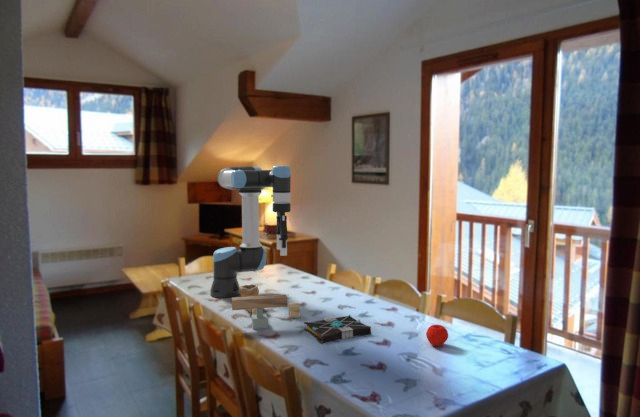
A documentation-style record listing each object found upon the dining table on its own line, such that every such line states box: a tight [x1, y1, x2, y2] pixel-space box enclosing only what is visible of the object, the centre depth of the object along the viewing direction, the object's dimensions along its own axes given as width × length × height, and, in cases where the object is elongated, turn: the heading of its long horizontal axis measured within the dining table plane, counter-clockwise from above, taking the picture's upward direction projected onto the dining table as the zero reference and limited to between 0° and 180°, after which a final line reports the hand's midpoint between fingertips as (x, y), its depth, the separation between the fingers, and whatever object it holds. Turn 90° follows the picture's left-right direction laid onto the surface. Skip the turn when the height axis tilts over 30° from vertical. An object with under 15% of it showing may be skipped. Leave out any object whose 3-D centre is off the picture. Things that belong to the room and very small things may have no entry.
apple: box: [425, 324, 449, 347], centre depth 174 cm, size 8×8×7 cm
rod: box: [231, 294, 288, 311], centre depth 194 cm, size 4×22×4 cm, turn 103°
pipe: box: [239, 284, 265, 314], centre depth 217 cm, size 9×16×10 cm, turn 24°
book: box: [303, 314, 372, 344], centre depth 188 cm, size 22×17×5 cm
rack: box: [251, 302, 301, 319], centre depth 206 cm, size 5×20×5 cm, turn 103°
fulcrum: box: [251, 308, 269, 330], centre depth 194 cm, size 6×6×8 cm
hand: (281, 252), depth 202 cm, fingers open, 13 cm apart
